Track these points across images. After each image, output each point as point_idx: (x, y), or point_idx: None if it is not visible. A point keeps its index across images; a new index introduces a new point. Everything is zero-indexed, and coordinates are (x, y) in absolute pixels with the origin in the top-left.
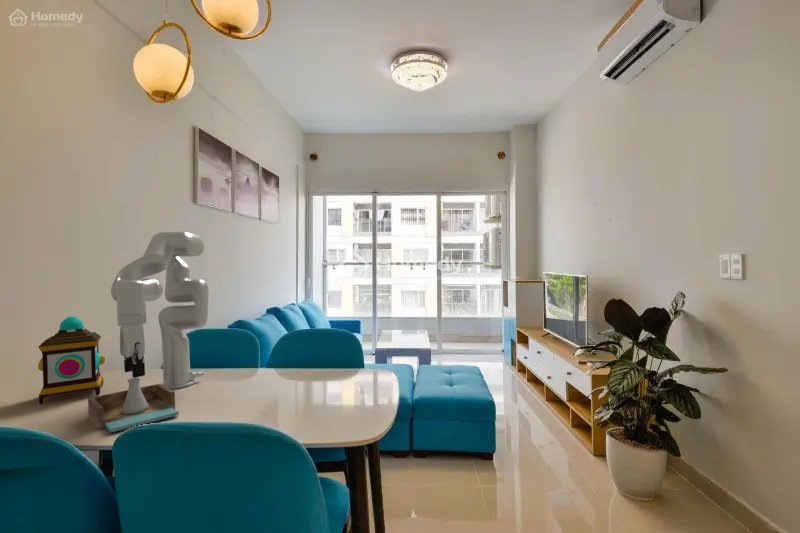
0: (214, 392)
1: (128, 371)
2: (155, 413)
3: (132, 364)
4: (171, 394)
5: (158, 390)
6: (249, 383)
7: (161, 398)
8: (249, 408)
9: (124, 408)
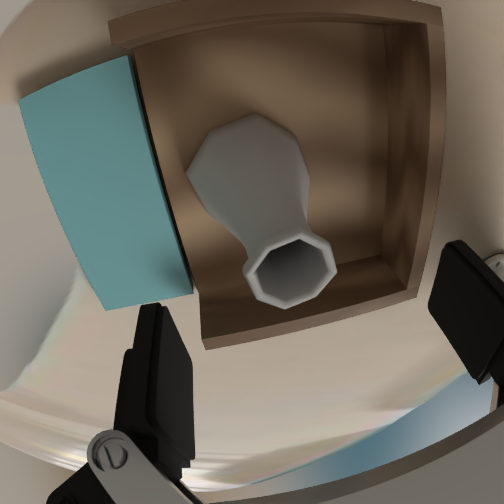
0: (321, 370)
1: (439, 263)
2: (132, 247)
3: (141, 426)
4: (201, 334)
5: (375, 282)
6: (324, 413)
7: None
8: (101, 404)
9: (233, 135)
